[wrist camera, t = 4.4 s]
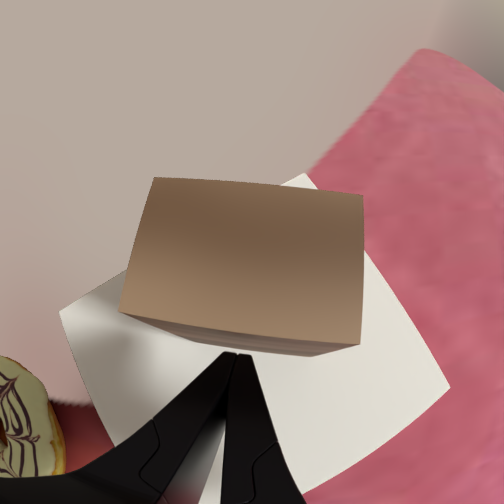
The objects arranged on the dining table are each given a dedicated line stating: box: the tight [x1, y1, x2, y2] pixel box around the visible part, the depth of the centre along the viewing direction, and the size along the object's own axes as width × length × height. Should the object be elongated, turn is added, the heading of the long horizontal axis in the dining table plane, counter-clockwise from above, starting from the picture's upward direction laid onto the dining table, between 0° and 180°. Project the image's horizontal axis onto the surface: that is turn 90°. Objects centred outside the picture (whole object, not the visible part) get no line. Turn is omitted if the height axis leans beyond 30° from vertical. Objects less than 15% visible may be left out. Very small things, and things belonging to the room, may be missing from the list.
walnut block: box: [118, 177, 364, 357], centre depth 12 cm, size 4×6×9 cm, turn 82°
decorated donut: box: [0, 356, 66, 478], centre depth 13 cm, size 10×11×4 cm
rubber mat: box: [59, 173, 450, 504], centre depth 15 cm, size 16×18×1 cm
